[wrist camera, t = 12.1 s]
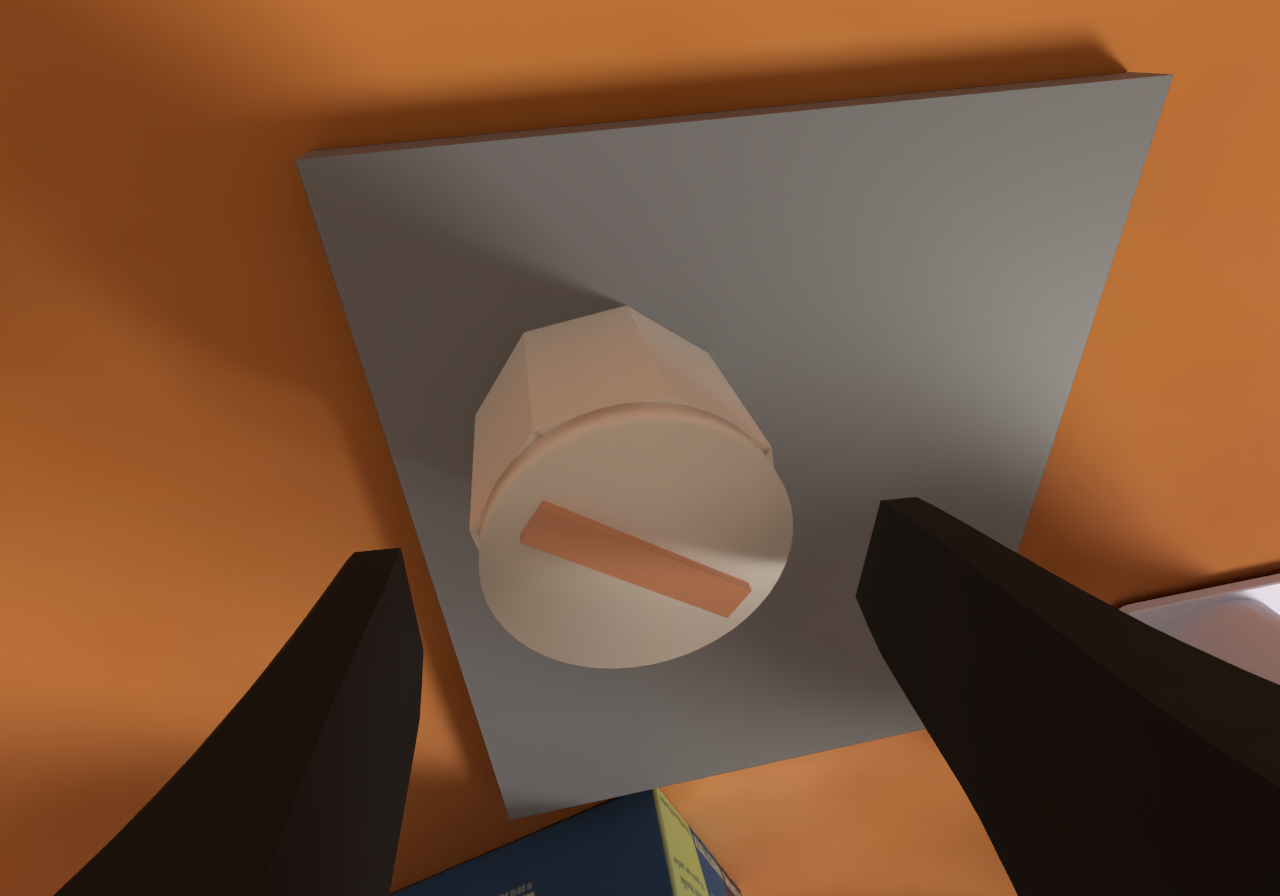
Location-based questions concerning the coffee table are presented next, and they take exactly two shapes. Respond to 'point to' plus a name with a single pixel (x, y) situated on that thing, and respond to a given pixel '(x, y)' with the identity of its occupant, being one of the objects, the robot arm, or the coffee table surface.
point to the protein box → (594, 858)
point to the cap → (622, 495)
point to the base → (743, 366)
